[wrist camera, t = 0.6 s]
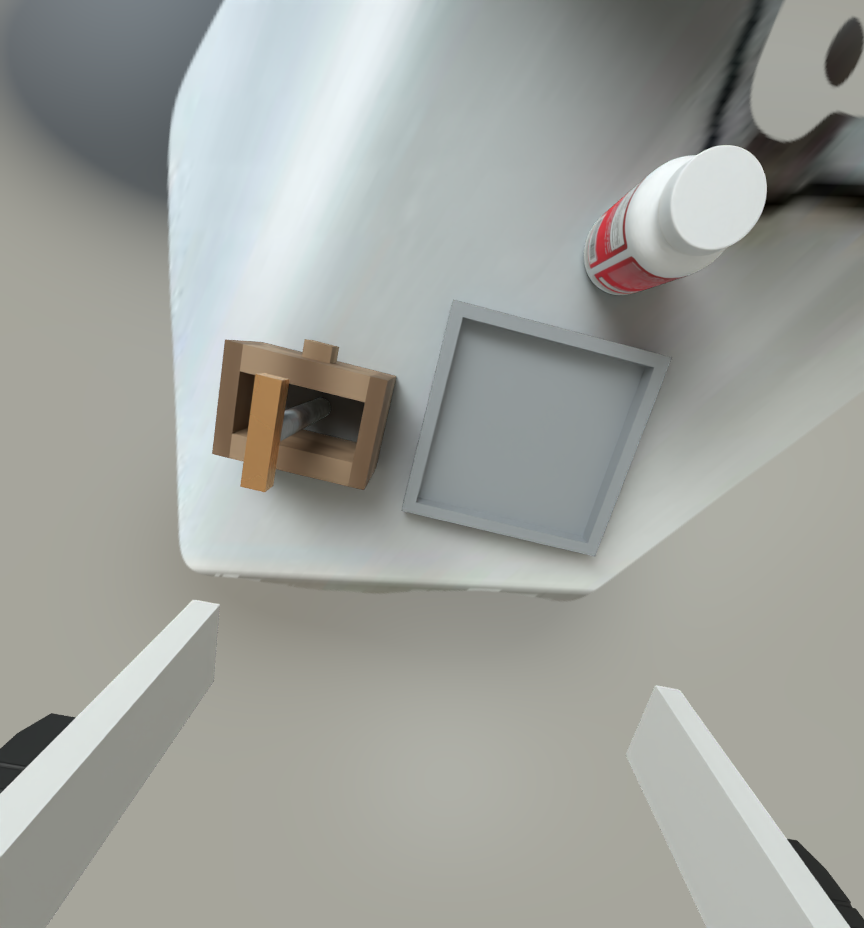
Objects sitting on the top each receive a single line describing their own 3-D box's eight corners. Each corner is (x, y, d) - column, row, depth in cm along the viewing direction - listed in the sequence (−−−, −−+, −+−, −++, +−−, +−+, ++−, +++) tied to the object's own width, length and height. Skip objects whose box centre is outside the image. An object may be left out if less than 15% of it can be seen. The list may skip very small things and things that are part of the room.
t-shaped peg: (318, 366, 33) (253, 373, 22) (337, 371, 33) (283, 381, 22) (305, 441, 35) (238, 486, 23) (324, 446, 35) (266, 492, 23)
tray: (452, 302, 32) (453, 299, 30) (658, 357, 33) (672, 357, 31) (403, 502, 36) (401, 510, 34) (586, 546, 37) (594, 556, 35)
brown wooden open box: (249, 437, 35) (212, 453, 29) (264, 326, 33) (227, 320, 27) (376, 467, 36) (364, 490, 30) (399, 361, 33) (391, 362, 27)
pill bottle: (675, 269, 31) (799, 225, 21) (600, 311, 32) (682, 290, 21) (644, 188, 30) (760, 96, 19) (567, 234, 31) (636, 171, 20)
